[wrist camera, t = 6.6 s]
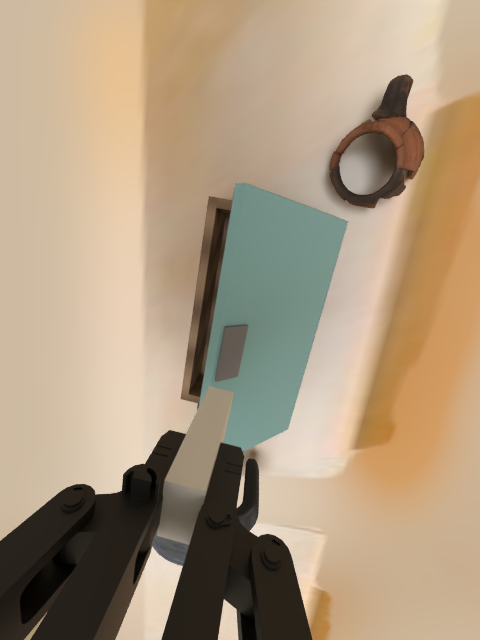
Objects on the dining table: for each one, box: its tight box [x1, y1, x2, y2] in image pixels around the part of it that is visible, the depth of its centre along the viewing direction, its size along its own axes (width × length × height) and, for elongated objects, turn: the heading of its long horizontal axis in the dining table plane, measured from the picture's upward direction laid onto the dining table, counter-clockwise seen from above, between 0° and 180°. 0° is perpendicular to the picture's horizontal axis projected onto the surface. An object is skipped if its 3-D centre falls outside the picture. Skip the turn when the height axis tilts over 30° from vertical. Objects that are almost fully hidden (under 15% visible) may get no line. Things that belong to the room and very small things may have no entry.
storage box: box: [181, 196, 232, 403], centre depth 36 cm, size 26×14×7 cm, turn 169°
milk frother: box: [152, 403, 259, 566], centre depth 39 cm, size 14×16×15 cm
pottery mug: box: [330, 75, 424, 208], centre depth 30 cm, size 12×10×8 cm
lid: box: [198, 183, 348, 452], centre depth 27 cm, size 26×14×2 cm
